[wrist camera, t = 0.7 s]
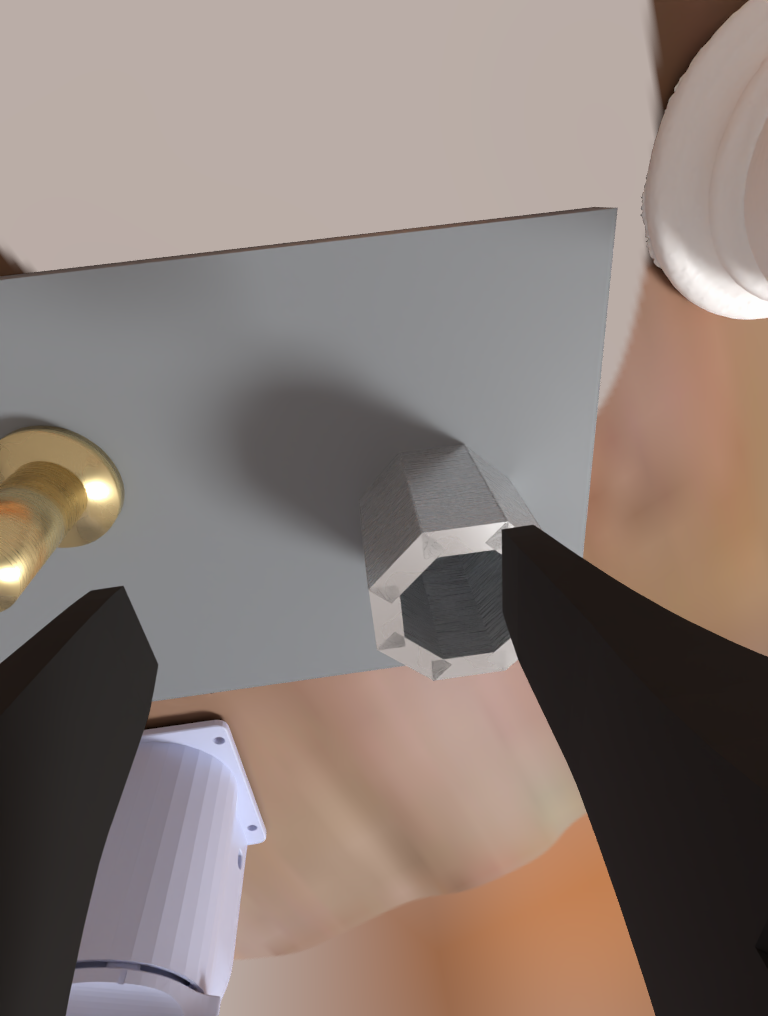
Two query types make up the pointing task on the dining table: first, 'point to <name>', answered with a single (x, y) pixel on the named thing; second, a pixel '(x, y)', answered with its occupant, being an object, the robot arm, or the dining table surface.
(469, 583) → the steel collar
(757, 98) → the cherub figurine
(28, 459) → the post board
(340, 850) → the dining table surface
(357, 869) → the dining table surface
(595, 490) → the dining table surface
